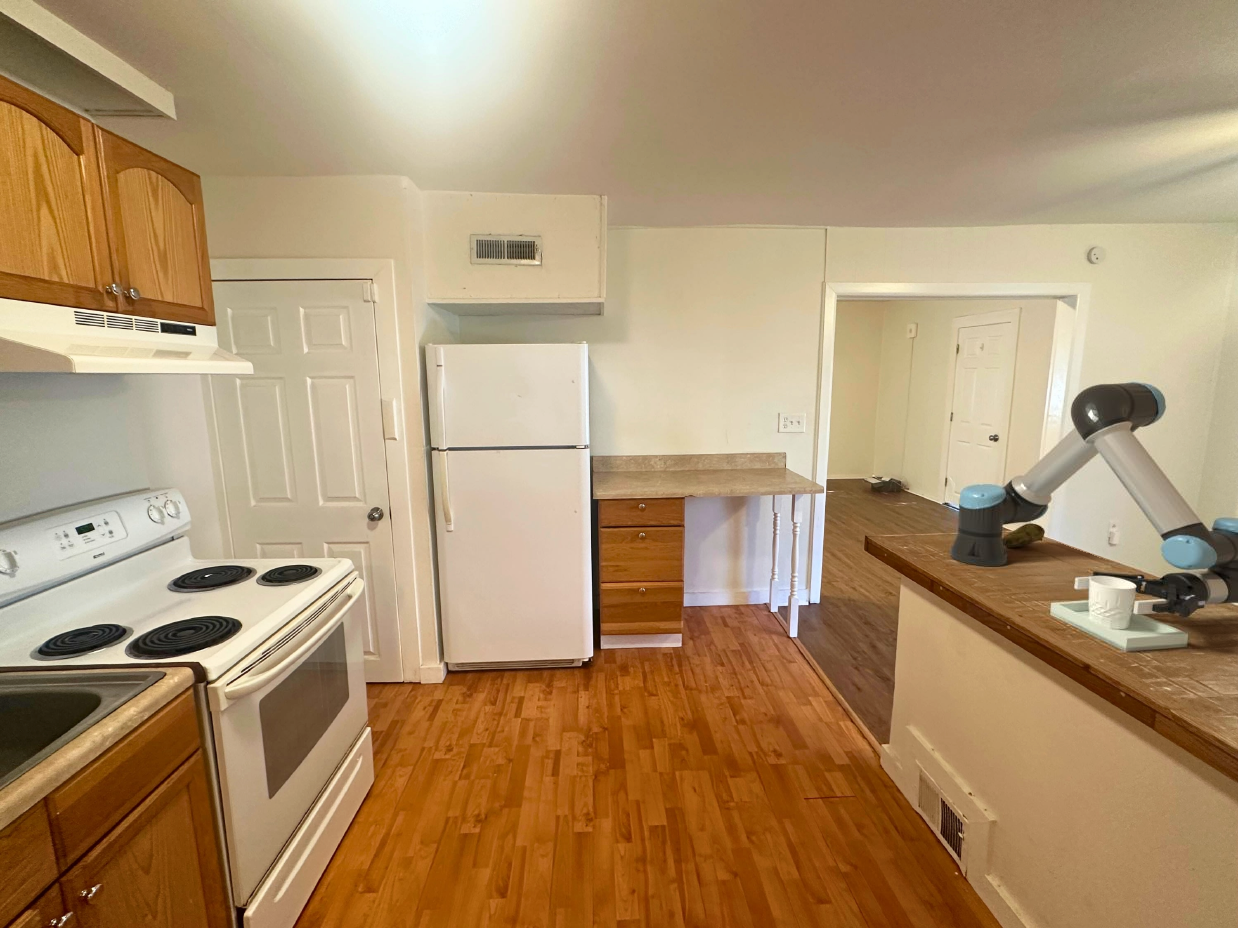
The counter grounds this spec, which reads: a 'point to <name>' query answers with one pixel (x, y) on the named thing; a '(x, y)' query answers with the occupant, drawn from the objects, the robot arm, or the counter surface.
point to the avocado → (1024, 536)
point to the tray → (1134, 638)
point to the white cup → (1111, 601)
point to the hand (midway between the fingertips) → (1104, 594)
